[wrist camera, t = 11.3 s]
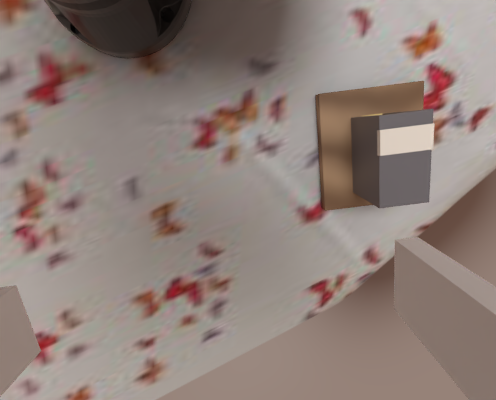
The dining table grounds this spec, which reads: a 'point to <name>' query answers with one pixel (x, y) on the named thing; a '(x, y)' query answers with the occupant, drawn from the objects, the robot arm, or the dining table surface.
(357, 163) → the block
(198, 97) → the dining table surface
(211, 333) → the dining table surface
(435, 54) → the dining table surface
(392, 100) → the board
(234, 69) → the dining table surface
